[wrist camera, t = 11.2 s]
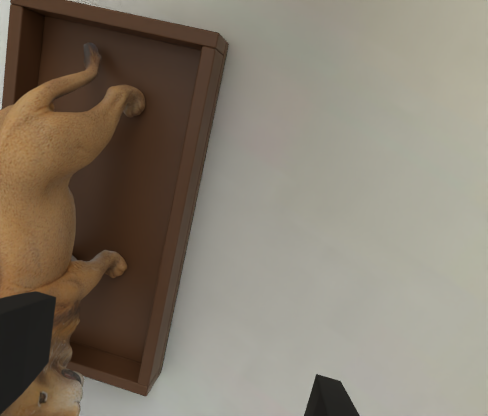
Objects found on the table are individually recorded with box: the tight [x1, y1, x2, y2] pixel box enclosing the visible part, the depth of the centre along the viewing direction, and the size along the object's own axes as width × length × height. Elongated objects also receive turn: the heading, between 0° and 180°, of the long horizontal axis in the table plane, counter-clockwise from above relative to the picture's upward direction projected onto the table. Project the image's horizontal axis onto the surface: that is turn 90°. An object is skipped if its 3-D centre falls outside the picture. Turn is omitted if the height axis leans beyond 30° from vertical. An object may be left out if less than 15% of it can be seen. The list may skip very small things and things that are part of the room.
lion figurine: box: [0, 43, 146, 416], centre depth 15 cm, size 15×5×9 cm, turn 178°
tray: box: [2, 0, 229, 396], centre depth 19 cm, size 17×9×2 cm, turn 167°
